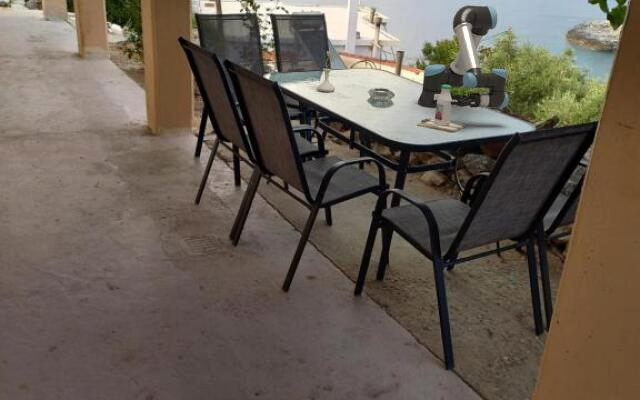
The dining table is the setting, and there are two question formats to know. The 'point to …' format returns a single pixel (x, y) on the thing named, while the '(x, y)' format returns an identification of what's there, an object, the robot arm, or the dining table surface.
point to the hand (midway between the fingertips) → (438, 99)
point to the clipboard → (449, 128)
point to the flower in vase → (326, 85)
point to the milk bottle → (443, 107)
